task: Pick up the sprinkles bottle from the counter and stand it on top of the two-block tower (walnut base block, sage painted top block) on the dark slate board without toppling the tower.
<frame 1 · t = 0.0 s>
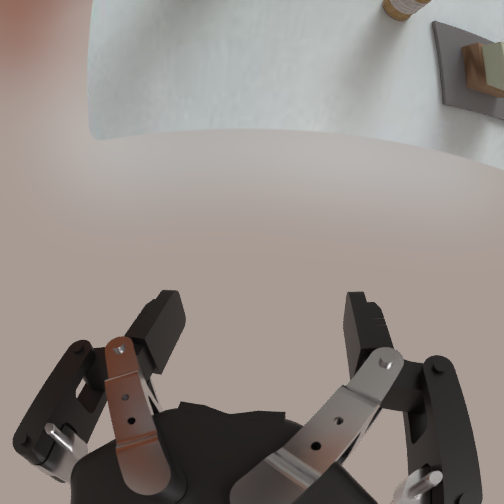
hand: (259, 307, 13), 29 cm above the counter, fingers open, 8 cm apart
sage top block: (498, 70, 19), point 6 cm above the counter, touching walnut base block
walnut base block: (480, 72, 24), point 1 cm above the counter, touching sage top block, slate board
slate board: (477, 72, 25), on the counter
sprinkles bottle: (395, 9, 24), on the counter
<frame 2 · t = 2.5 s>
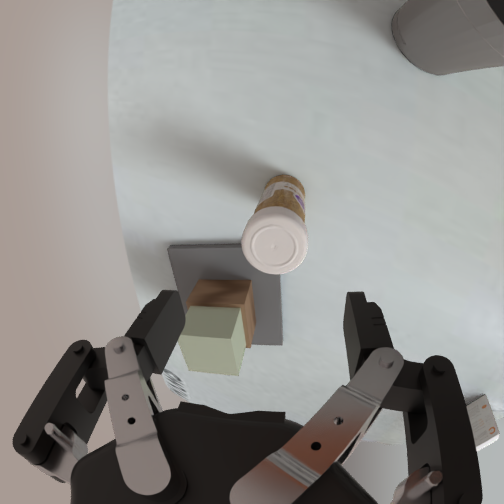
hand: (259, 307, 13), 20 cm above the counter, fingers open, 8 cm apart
sage top block: (218, 326, 33), point 6 cm above the counter, touching walnut base block
walnut base block: (228, 301, 37), point 1 cm above the counter, touching sage top block, slate board
slate board: (229, 297, 38), on the counter
sprinkles bottle: (284, 193, 31), on the counter
small box: (473, 404, 45), on the counter
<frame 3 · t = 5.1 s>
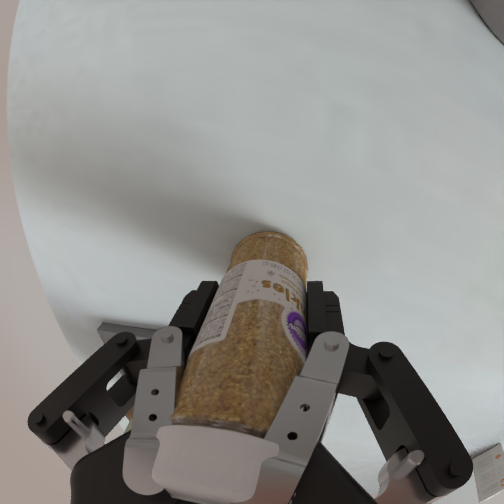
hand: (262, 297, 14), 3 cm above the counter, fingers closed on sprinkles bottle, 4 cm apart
slate board: (193, 390, 24), on the counter
sprinkles bottle: (269, 262, 17), on the counter, touching gripper
small box: (485, 452, 31), on the counter
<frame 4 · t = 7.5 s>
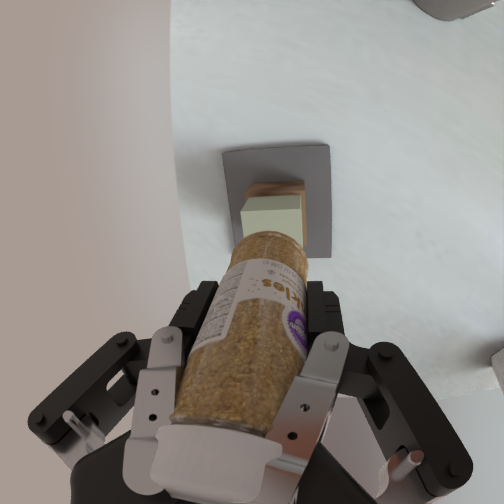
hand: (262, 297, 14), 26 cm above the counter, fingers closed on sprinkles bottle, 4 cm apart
sage top block: (276, 220, 33), point 6 cm above the counter, touching walnut base block
walnut base block: (279, 206, 38), point 1 cm above the counter, touching sage top block, slate board
slate board: (280, 204, 38), on the counter
sprinkles bottle: (269, 261, 17), point 23 cm above the counter, touching gripper
small box: (502, 353, 44), on the counter
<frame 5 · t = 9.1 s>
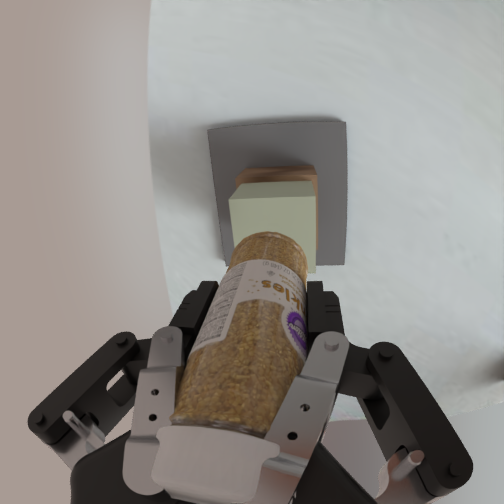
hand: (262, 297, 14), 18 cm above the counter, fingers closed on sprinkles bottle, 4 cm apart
sage top block: (278, 214, 25), point 6 cm above the counter, touching walnut base block
walnut base block: (281, 199, 29), point 1 cm above the counter, touching sage top block, slate board
slate board: (281, 196, 30), on the counter
sprinkles bottle: (268, 262, 17), point 15 cm above the counter, touching gripper
when the fingers open (16 cm above the counter, at t = 10.4 s): sprinkles bottle drops 1 cm, resting on sage top block.
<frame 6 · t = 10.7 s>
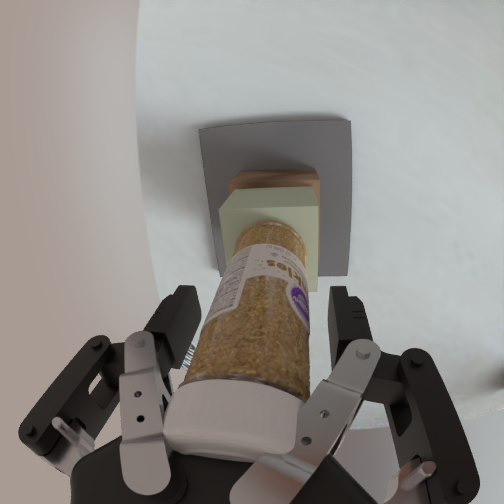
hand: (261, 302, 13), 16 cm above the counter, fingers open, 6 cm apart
sage top block: (276, 224, 22), point 6 cm above the counter, touching sprinkles bottle, walnut base block
walnut base block: (279, 205, 27), point 1 cm above the counter, touching sage top block, slate board
slate board: (279, 202, 27), on the counter
sprinkles bottle: (270, 250, 18), point 11 cm above the counter, touching sage top block
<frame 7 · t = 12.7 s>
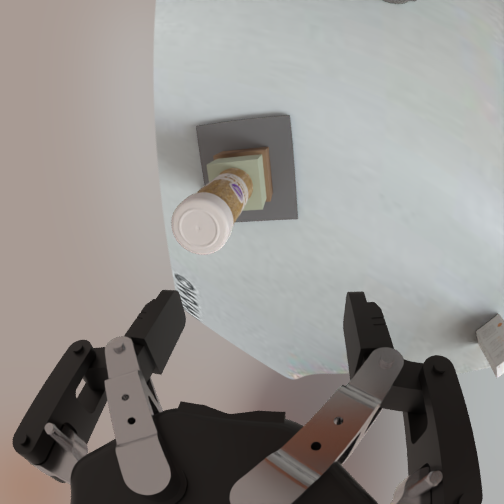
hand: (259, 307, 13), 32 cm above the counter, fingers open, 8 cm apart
sage top block: (241, 178, 37), point 6 cm above the counter, touching sprinkles bottle, walnut base block
walnut base block: (247, 171, 41), point 1 cm above the counter, touching sage top block, slate board
slate board: (248, 170, 42), on the counter
sprinkles bottle: (234, 185, 32), point 11 cm above the counter, touching sage top block
small box: (488, 328, 49), on the counter
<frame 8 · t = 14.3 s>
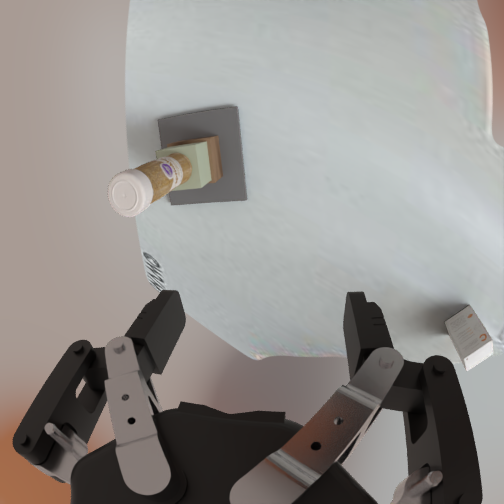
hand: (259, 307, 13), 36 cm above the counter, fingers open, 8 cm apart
sage top block: (190, 162, 40), point 6 cm above the counter, touching sprinkles bottle, walnut base block
walnut base block: (200, 158, 45), point 1 cm above the counter, touching sage top block, slate board
slate board: (202, 157, 46), on the counter
sprinkles bottle: (178, 168, 36), point 11 cm above the counter, touching sage top block
small box: (459, 319, 53), on the counter
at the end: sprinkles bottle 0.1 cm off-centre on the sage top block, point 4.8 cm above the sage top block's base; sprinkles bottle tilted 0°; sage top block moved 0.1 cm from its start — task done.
